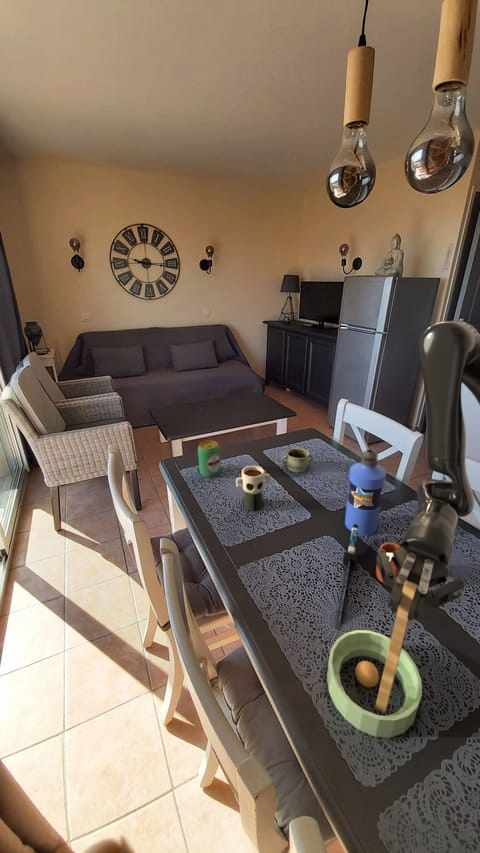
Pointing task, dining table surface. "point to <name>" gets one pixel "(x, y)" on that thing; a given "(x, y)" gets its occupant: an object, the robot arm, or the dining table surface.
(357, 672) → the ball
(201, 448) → the beverage can
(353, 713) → the green faceted ring
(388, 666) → the stick
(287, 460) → the vessel
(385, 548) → the holder
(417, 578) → the robot arm
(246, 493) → the character mug
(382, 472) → the water bottle
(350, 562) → the knife
